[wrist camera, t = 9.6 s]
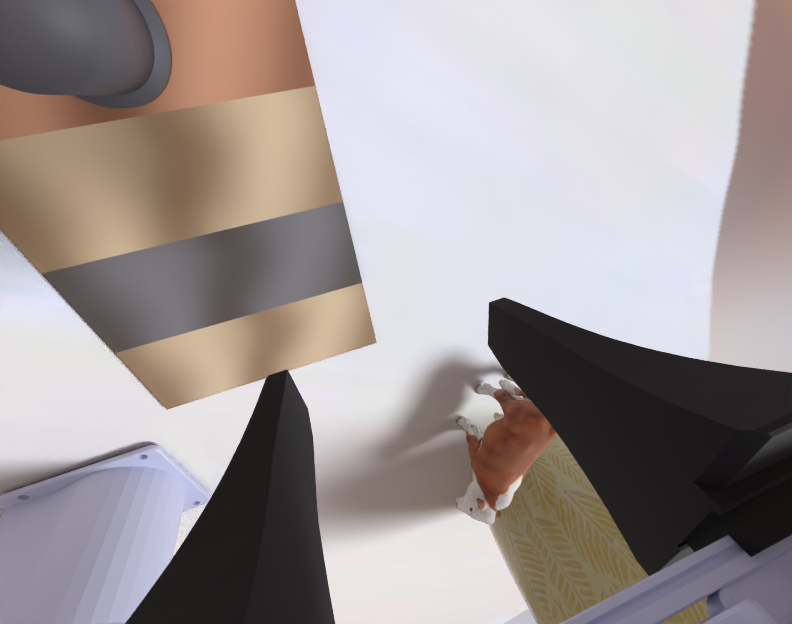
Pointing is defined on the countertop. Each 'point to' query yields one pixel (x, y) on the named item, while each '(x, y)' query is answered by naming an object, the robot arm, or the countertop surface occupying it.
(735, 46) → the countertop surface
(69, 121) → the track board
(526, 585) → the vase
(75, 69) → the dark grey rounded knob
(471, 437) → the bull figurine
